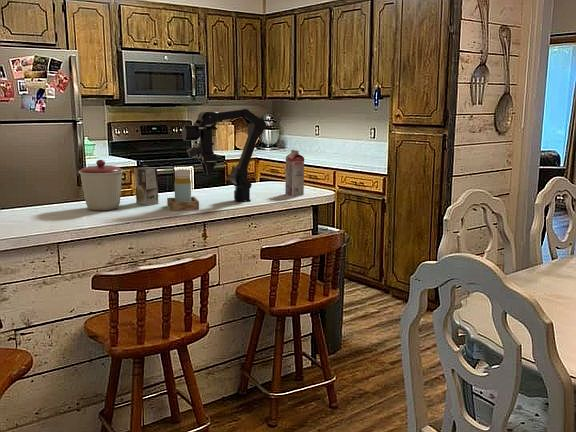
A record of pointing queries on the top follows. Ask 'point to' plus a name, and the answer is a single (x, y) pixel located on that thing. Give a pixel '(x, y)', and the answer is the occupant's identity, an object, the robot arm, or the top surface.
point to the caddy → (183, 204)
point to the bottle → (182, 186)
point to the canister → (101, 186)
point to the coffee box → (146, 185)
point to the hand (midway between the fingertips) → (207, 175)
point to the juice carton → (294, 174)
